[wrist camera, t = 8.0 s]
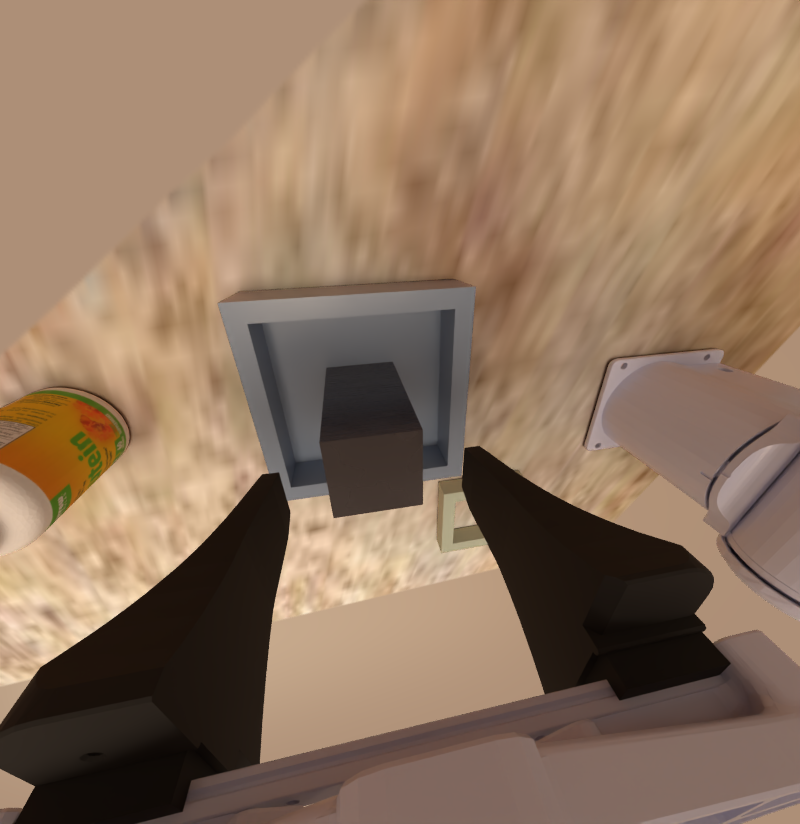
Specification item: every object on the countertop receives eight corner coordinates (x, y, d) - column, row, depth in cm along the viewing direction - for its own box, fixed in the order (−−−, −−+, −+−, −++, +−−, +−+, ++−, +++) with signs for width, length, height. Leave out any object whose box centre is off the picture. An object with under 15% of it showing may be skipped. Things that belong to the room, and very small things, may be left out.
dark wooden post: (392, 361, 19) (422, 429, 12) (395, 418, 21) (422, 504, 14) (326, 367, 19) (319, 442, 12) (335, 424, 21) (333, 518, 14)
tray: (453, 278, 19) (475, 286, 16) (446, 446, 24) (461, 475, 21) (239, 291, 17) (217, 303, 14) (285, 467, 23) (277, 502, 20)
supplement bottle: (140, 463, 21) (7, 615, 12) (40, 460, 20) (-184, 627, 11) (122, 389, 18) (-60, 515, 10) (6, 380, 17) (-313, 516, 9)
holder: (518, 470, 27) (527, 481, 26) (507, 527, 30) (515, 540, 29) (438, 481, 26) (443, 494, 25) (436, 539, 29) (441, 553, 28)
